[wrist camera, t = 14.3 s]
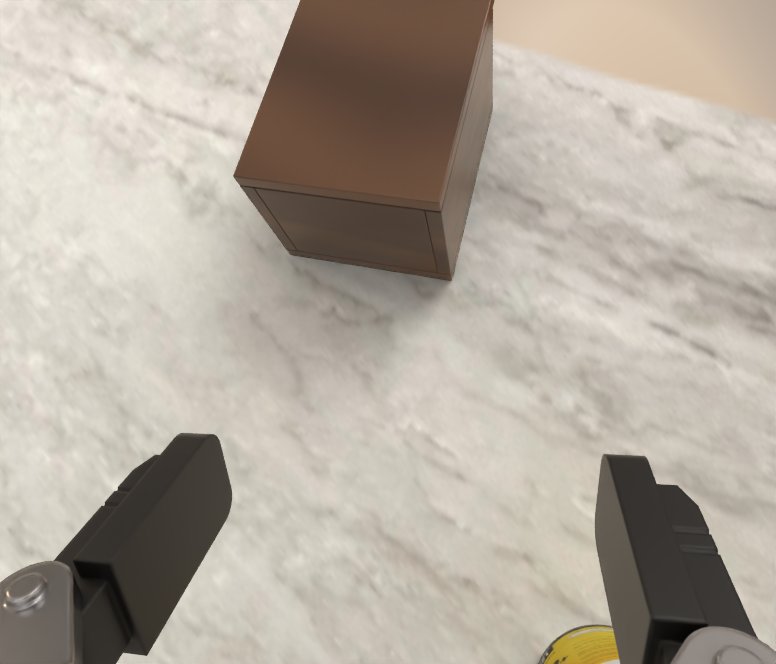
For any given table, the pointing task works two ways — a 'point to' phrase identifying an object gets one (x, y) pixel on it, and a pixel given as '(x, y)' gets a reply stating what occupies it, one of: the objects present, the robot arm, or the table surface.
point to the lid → (368, 100)
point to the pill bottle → (583, 647)
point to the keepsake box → (389, 207)
